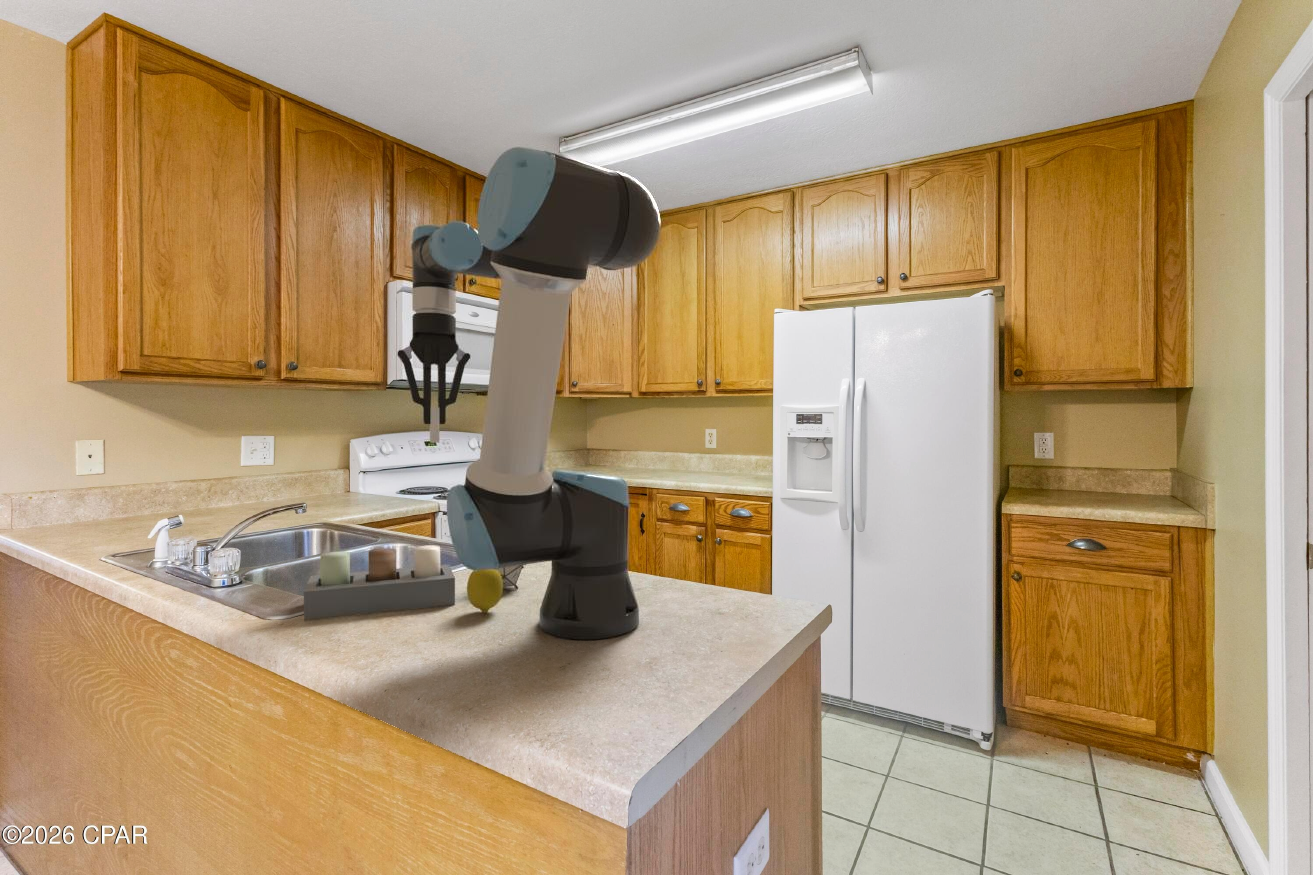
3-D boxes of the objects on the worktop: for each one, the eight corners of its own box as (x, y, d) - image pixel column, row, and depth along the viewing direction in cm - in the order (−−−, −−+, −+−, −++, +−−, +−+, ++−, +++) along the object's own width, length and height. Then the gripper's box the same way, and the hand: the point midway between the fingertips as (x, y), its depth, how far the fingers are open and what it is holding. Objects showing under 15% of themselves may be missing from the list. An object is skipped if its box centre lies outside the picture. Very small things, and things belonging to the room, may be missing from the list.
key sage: (349, 599, 100) (349, 556, 100) (319, 602, 99) (319, 558, 98) (350, 592, 104) (350, 550, 104) (322, 595, 103) (321, 552, 102)
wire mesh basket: (490, 609, 114) (460, 563, 115) (526, 584, 120) (497, 541, 121) (508, 595, 107) (475, 547, 108) (545, 569, 113) (513, 524, 114)
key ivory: (441, 590, 106) (441, 549, 106) (414, 592, 104) (414, 551, 104) (439, 584, 110) (439, 544, 110) (413, 586, 108) (413, 546, 108)
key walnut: (396, 594, 103) (396, 552, 103) (368, 597, 101) (368, 554, 101) (396, 588, 107) (395, 547, 107) (369, 590, 105) (368, 549, 105)
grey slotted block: (454, 604, 104) (454, 577, 104) (304, 620, 95) (303, 591, 95) (449, 588, 113) (448, 564, 113) (310, 602, 104) (310, 575, 104)
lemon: (493, 619, 97) (493, 568, 97) (460, 616, 98) (460, 566, 98) (508, 608, 102) (508, 560, 102) (477, 606, 104) (477, 558, 103)
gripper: (468, 319, 121) (468, 441, 122) (395, 314, 116) (396, 441, 117) (473, 314, 114) (473, 443, 115) (396, 308, 109) (397, 443, 110)
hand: (434, 442), depth 116 cm, fingers closed
